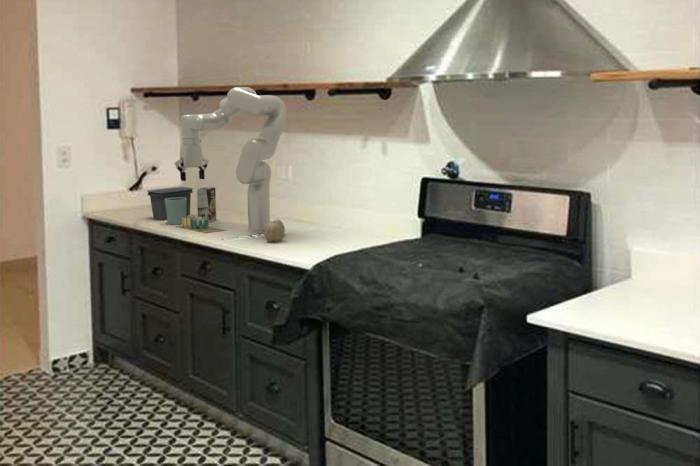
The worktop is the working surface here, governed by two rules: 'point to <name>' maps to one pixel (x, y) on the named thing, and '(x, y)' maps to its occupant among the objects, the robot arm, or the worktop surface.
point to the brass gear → (187, 221)
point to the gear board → (201, 225)
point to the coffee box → (206, 203)
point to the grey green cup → (175, 210)
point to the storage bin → (162, 194)
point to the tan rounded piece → (274, 231)
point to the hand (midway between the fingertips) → (192, 179)
